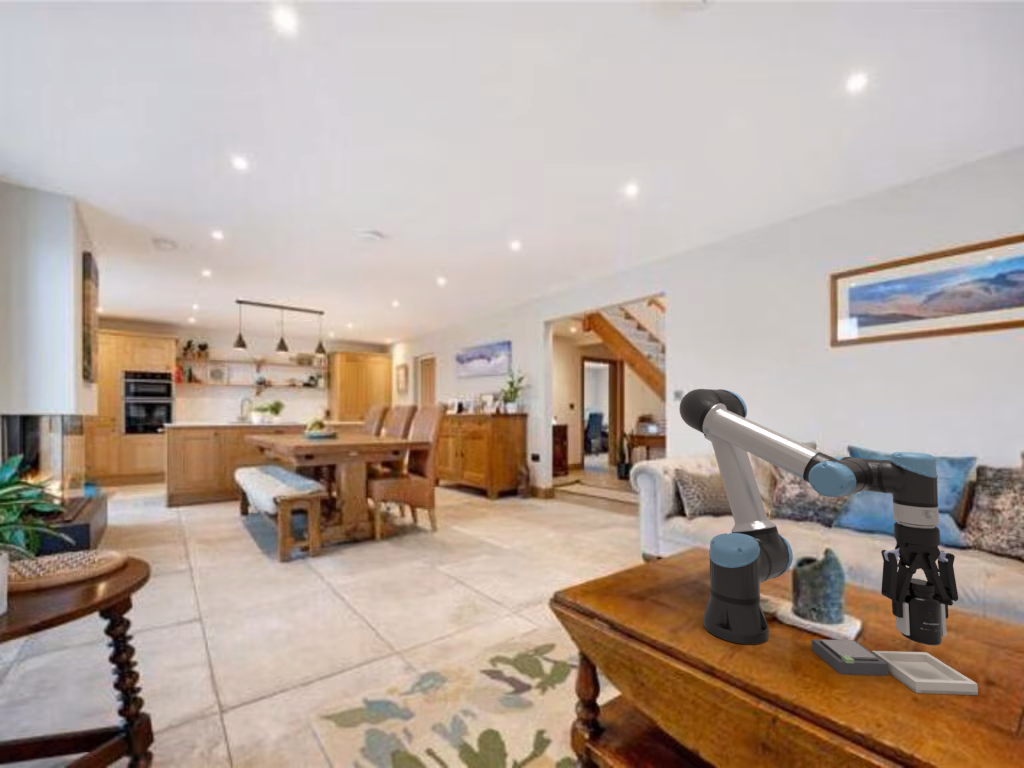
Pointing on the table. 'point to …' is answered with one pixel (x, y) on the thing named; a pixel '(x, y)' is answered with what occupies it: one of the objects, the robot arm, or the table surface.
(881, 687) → the table surface
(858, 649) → the grey square tile
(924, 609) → the supplement bottle
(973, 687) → the dish
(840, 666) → the grey square framed panel
